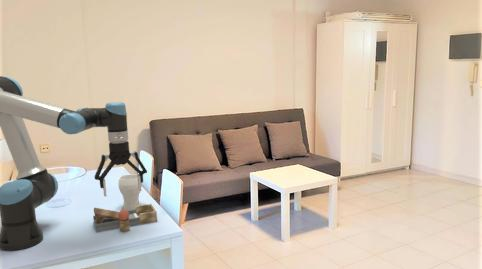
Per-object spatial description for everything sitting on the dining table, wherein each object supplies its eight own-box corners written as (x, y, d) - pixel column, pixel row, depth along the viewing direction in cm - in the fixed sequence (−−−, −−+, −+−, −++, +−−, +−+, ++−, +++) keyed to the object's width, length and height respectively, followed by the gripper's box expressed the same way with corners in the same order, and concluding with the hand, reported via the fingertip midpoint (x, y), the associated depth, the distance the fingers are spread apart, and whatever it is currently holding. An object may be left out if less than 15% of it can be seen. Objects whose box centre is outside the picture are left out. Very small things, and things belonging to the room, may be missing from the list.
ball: (119, 222, 161) (118, 212, 160) (117, 219, 165) (117, 209, 164) (130, 221, 163) (129, 210, 162) (128, 217, 167) (128, 207, 166)
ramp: (96, 227, 164) (94, 213, 163) (94, 220, 171) (93, 207, 170) (129, 221, 169) (128, 208, 168) (126, 215, 177) (125, 202, 176)
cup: (137, 212, 185) (135, 180, 182) (116, 210, 187) (113, 179, 184) (146, 204, 195) (145, 174, 192) (126, 202, 197) (124, 173, 194)
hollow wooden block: (121, 232, 162) (120, 221, 162) (119, 229, 165) (119, 218, 165) (129, 230, 164) (128, 220, 163) (128, 227, 167) (127, 217, 166)
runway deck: (95, 232, 163) (95, 224, 162) (93, 222, 173) (93, 215, 172) (140, 224, 170) (140, 217, 170) (136, 215, 180) (135, 209, 179)
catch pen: (140, 224, 170) (140, 214, 169) (136, 215, 180) (135, 206, 179) (157, 221, 173) (156, 211, 172) (151, 213, 183) (151, 203, 182)
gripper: (85, 146, 150) (90, 200, 153) (152, 139, 160) (155, 190, 163) (84, 143, 156) (89, 195, 160) (148, 137, 166) (151, 186, 170)
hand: (122, 193), depth 162 cm, fingers open, 13 cm apart
